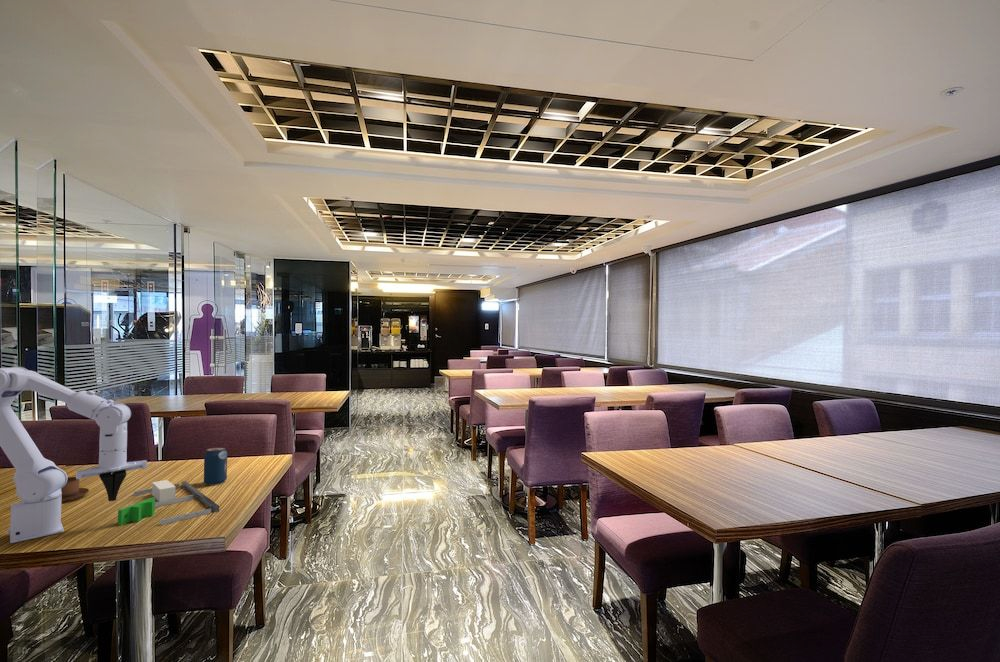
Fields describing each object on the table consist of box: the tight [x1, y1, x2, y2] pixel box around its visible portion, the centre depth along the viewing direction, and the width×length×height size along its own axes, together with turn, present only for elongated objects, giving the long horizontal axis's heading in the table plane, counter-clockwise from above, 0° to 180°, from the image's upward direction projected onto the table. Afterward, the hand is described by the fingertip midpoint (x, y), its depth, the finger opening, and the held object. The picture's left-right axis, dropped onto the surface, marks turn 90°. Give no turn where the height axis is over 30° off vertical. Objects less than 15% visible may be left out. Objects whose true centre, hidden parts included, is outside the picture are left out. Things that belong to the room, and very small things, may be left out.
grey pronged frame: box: [133, 480, 220, 526], centre depth 140 cm, size 14×37×2 cm, turn 47°
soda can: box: [203, 446, 228, 486], centre depth 161 cm, size 7×7×12 cm
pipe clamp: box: [117, 497, 156, 526], centre depth 128 cm, size 10×4×4 cm, turn 173°
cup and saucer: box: [61, 476, 90, 503], centre depth 144 cm, size 12×12×6 cm
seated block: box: [151, 479, 177, 502], centre depth 146 cm, size 4×11×4 cm, turn 47°
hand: (112, 500), depth 123 cm, fingers closed
